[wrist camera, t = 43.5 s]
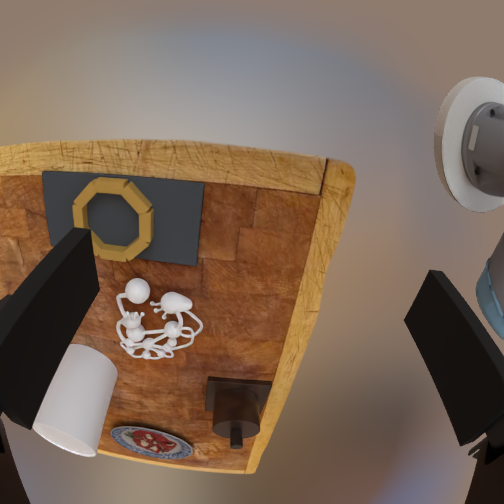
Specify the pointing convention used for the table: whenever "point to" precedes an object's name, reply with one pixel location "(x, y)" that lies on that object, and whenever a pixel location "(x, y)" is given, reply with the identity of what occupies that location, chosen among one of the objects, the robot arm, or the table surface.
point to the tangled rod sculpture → (169, 303)
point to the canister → (77, 401)
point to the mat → (130, 213)
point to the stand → (236, 407)
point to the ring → (134, 200)
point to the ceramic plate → (151, 442)
